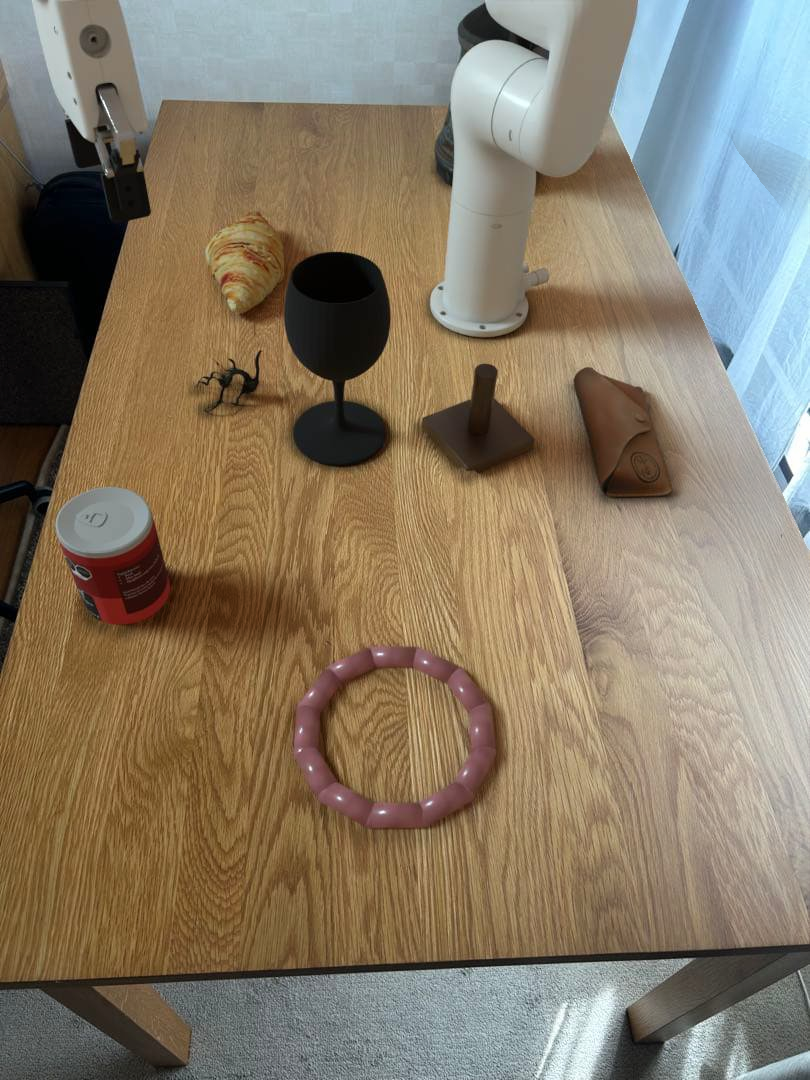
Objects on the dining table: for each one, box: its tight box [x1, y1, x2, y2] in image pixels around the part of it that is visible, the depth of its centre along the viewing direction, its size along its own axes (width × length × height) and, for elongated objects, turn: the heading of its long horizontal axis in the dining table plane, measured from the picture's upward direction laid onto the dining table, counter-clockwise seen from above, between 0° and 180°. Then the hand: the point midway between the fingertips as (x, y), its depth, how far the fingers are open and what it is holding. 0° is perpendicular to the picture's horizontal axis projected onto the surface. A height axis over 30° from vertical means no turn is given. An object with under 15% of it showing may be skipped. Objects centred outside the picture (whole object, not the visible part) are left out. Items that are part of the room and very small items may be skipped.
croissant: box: [204, 211, 285, 315], centre depth 117 cm, size 21×10×8 cm, turn 1°
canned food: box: [54, 486, 171, 626], centre depth 80 cm, size 8×8×11 cm
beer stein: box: [433, 2, 544, 187], centre depth 130 cm, size 16×19×25 cm
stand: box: [421, 363, 536, 473], centre depth 97 cm, size 9×9×10 cm
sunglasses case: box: [573, 366, 673, 499], centre depth 100 cm, size 18×7×7 cm, turn 3°
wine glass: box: [283, 251, 392, 467], centre depth 92 cm, size 10×10×20 cm
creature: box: [195, 349, 263, 413], centre depth 101 cm, size 8×5×8 cm
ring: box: [293, 645, 497, 830], centre depth 75 cm, size 17×17×2 cm
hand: (112, 190), depth 75 cm, fingers open, 9 cm apart
